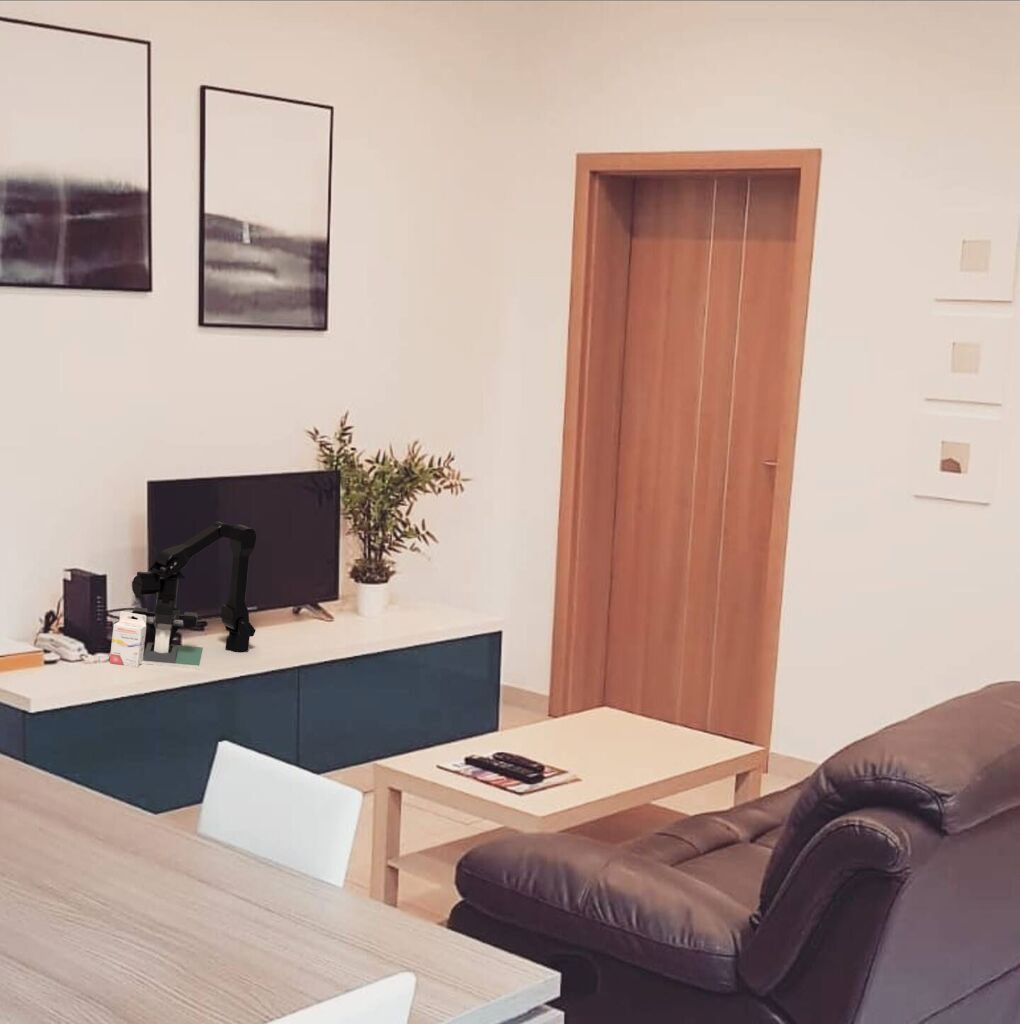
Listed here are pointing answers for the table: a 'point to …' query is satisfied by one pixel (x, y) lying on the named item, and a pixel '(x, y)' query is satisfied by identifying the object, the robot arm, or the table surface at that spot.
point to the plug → (162, 638)
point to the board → (174, 654)
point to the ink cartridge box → (128, 640)
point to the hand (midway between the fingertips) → (162, 644)
